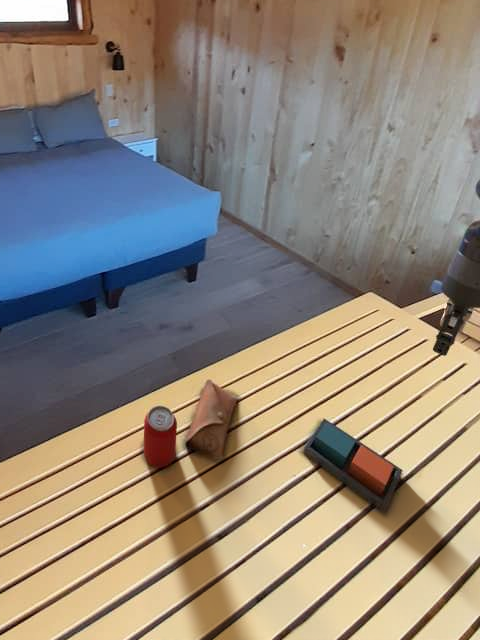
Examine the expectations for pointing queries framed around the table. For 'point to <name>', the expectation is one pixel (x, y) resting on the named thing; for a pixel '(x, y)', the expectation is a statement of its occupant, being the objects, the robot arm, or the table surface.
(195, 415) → the sunglasses case
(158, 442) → the beverage can
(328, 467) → the frame
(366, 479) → the loose pad
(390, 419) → the table surface
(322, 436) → the pad
